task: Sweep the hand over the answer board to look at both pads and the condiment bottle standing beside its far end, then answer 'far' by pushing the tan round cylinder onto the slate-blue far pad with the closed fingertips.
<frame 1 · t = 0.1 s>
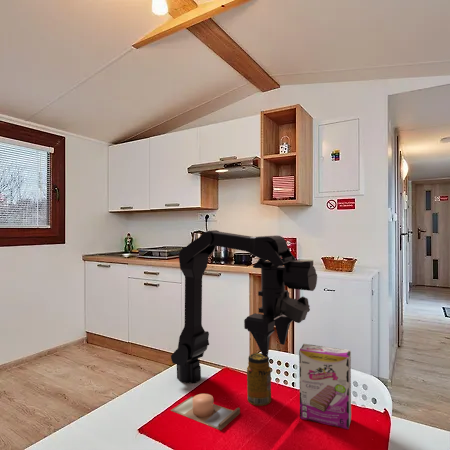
hand: (274, 350, 85), 15 cm above the table, tool pointing down, fingers open, 9 cm apart
tan round cylinder: (203, 411, 84), point 1 cm above the table, touching board
condiment: (261, 405, 88), on the table
board: (204, 414, 83), on the table
candy bar box: (325, 420, 80), on the table
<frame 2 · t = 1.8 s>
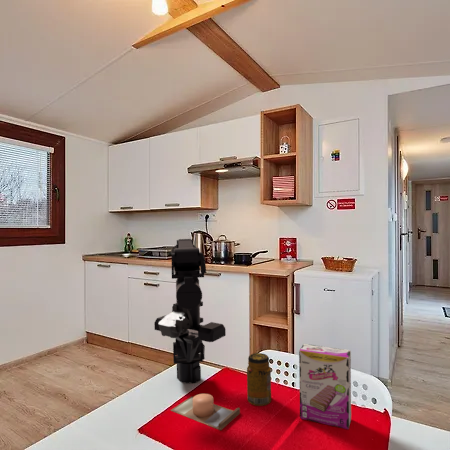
hand: (189, 361, 86), 12 cm above the table, tool pointing down, fingers closed
nothing on the table moved.
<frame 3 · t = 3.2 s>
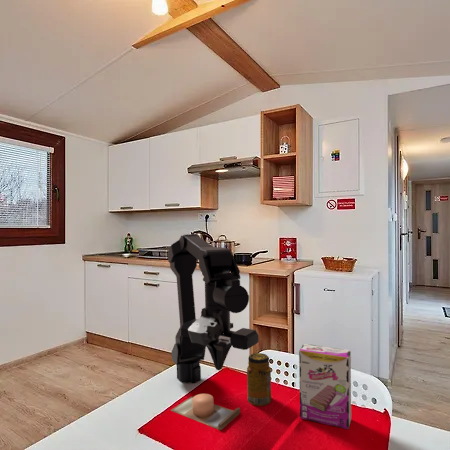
hand: (218, 369, 81), 12 cm above the table, tool pointing down, fingers closed
nothing on the table moved.
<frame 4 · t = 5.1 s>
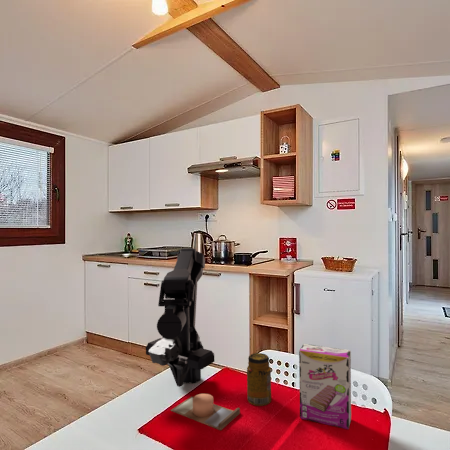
hand: (179, 386, 88), 5 cm above the table, tool pointing down, fingers closed
nothing on the table moved.
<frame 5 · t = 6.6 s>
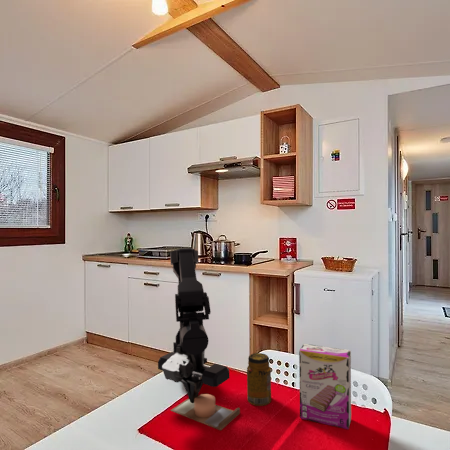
hand: (193, 402, 85), 2 cm above the table, tool pointing down, fingers closed
tan round cylinder: (204, 411, 83), point 1 cm above the table, touching board, gripper
everything else where it was.
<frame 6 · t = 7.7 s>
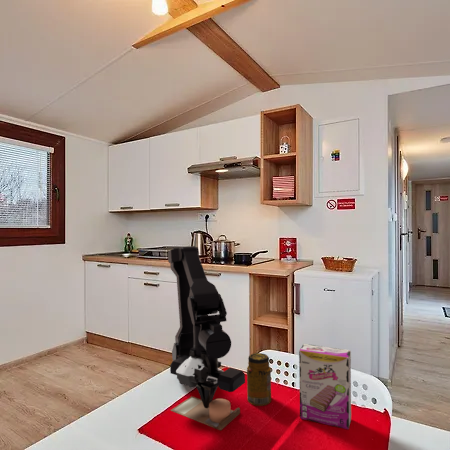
hand: (206, 407, 83), 2 cm above the table, tool pointing down, fingers closed
tan round cylinder: (220, 416, 81), point 1 cm above the table, touching board, gripper
everything else where it was.
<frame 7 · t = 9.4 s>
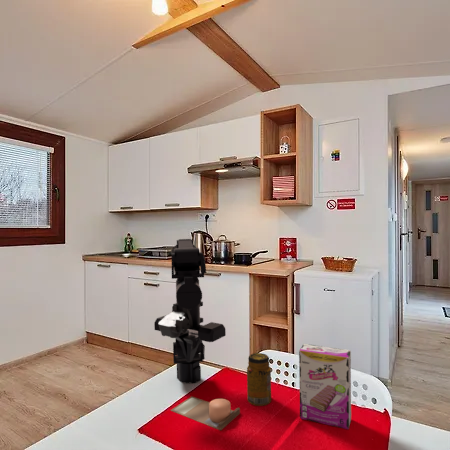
hand: (189, 361, 86), 12 cm above the table, tool pointing down, fingers closed
tan round cylinder: (220, 416, 81), point 1 cm above the table, touching board
everything else where it was.
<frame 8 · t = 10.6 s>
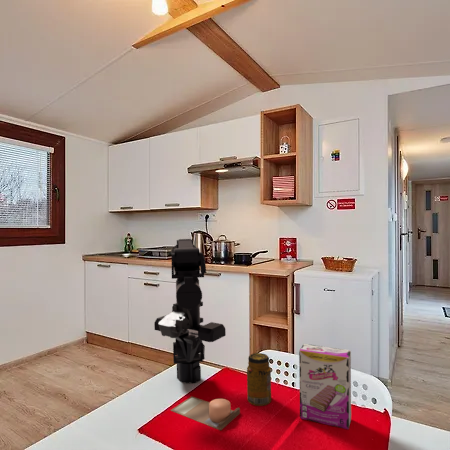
hand: (189, 361, 86), 12 cm above the table, tool pointing down, fingers closed
nothing on the table moved.
at the end: tan round cylinder 0.2 cm from the target spot on the board, point 0.8 cm above the board's base; tan round cylinder tilted 0° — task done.
